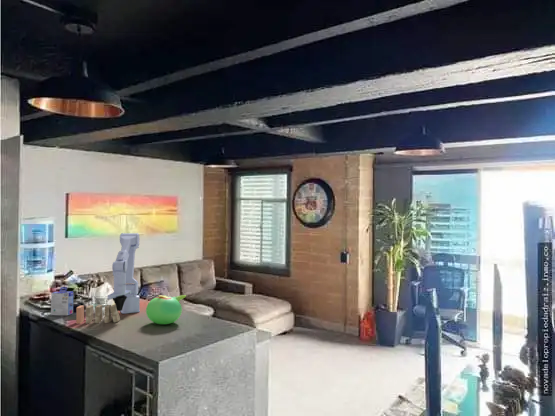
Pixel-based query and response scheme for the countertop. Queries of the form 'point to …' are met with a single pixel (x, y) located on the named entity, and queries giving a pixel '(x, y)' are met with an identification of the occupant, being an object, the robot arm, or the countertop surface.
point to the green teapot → (164, 309)
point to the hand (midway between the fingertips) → (119, 310)
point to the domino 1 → (80, 314)
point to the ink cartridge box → (62, 302)
